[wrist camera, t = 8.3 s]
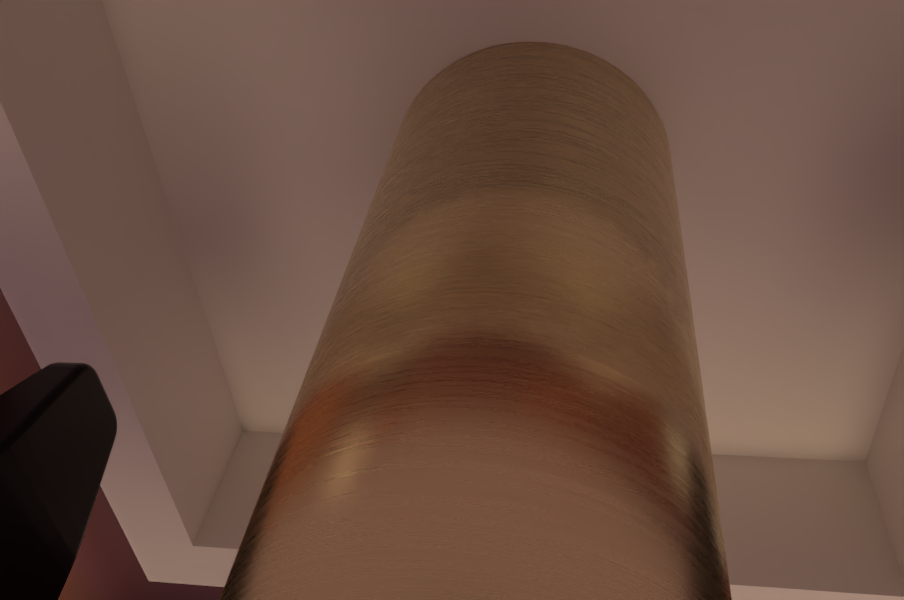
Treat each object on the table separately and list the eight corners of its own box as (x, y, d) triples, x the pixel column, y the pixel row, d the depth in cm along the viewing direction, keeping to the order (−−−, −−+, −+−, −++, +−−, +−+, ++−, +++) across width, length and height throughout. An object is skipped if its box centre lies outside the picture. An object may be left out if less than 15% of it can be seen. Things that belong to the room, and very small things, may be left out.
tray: (215, 439, 18) (149, 581, 16) (-86, -393, 10) (-346, -395, 7) (908, 474, 16) (969, 645, 14) (1299, -548, 8) (1678, -636, 5)
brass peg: (410, 281, 14) (180, 1106, 6) (377, 44, 12) (-67, 924, 4) (660, 286, 13) (750, 1206, 6) (683, 36, 11) (894, 1063, 3)
